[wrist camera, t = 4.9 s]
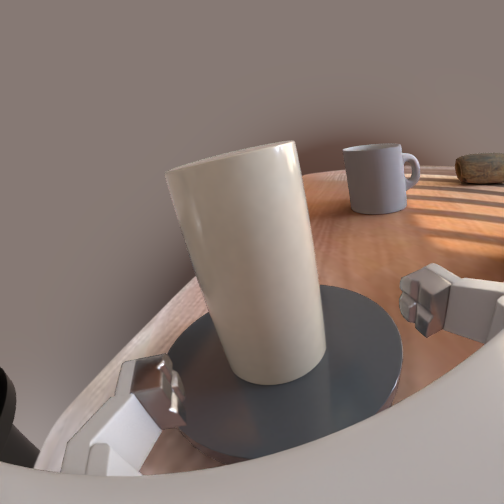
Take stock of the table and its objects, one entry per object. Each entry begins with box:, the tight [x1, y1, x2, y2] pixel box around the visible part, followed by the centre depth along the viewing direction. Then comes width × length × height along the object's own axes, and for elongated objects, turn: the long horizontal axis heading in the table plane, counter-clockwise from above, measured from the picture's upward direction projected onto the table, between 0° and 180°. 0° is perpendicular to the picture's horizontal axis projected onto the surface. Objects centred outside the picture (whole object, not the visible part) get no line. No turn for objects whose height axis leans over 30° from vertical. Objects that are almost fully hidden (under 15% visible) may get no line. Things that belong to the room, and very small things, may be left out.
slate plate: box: [167, 285, 403, 465], centre depth 18 cm, size 16×16×2 cm
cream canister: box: [165, 141, 326, 385], centre depth 15 cm, size 6×6×12 cm
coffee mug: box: [343, 144, 420, 214], centre depth 43 cm, size 13×10×10 cm
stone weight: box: [455, 153, 504, 184], centre depth 43 cm, size 15×7×7 cm, turn 73°
